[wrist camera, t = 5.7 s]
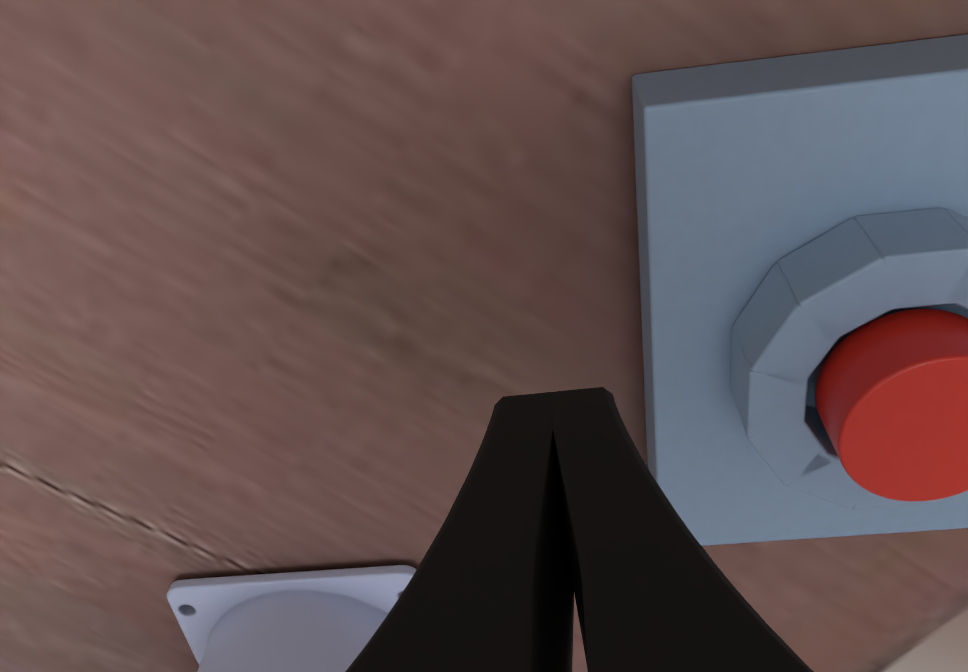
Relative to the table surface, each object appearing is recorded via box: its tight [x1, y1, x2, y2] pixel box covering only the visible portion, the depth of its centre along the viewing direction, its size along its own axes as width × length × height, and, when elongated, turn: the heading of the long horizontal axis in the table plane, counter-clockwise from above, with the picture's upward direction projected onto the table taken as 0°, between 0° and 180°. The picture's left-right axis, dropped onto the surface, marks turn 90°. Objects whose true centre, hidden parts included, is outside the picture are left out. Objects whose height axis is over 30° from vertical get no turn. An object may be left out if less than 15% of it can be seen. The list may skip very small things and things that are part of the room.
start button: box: [815, 309, 968, 502], centre depth 18 cm, size 4×4×2 cm
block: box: [632, 34, 968, 546], centre depth 20 cm, size 12×10×4 cm
